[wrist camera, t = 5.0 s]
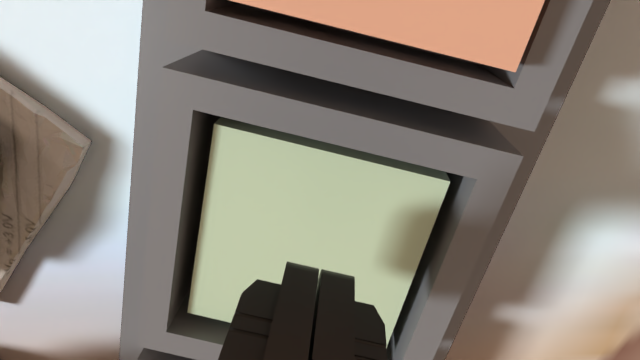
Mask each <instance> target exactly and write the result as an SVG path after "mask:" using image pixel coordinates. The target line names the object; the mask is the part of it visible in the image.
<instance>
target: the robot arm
mask: <svg viewBox="0 0 640 360" xmlns="http://www.w3.org/2000/svg"><path fill="white" fill-rule="evenodd" d="M318 276H319V278H318ZM386 345H387V344H386V332H385V324H384V322H383V320H382V319H381V317H380V315H379V313H378V312H377V310H376V308H375V306H374V305H371V304H366V303H362V302H357V301H355V277H354V276H350V275H346V274H341V273H337V272H332V271H328V270H324V269H321V272H320V275H319V268H314V267H310V266H305V265H301V264H296V263H292V262H288V261H287V263H286V267H285V271H284V275H283V279H282V283H281V284H277V283H272V282H268V281H263V280H259V279H257V280H256V281H255V282H253V283H252V284H251V285H250V286H249V287H248V288H247V289H246V290H244V291H243V292H242V294H241V297H240V299H239V302H238V305H237V308H236V310H235V314H234V316H233V319H232V322H231V324H230V327H229V331H228V333H227V336H226V338H225V341H224V344H223V347H222V349H221V352H220V355H219V358H218V360H388V356H387V349H386Z"/></svg>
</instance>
